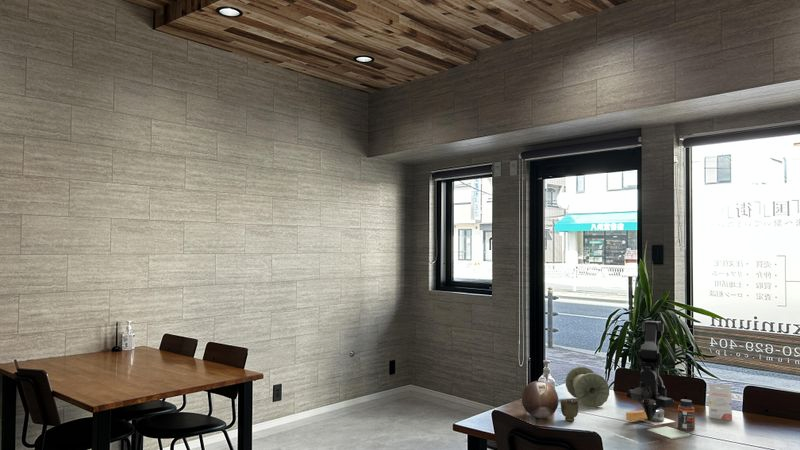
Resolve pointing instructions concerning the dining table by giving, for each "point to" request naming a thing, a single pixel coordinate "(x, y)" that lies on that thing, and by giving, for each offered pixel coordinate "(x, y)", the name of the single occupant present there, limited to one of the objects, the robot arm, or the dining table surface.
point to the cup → (569, 409)
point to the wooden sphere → (540, 399)
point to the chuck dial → (642, 415)
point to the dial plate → (659, 422)
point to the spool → (587, 387)
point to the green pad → (669, 432)
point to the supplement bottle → (686, 415)
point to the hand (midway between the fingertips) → (649, 420)
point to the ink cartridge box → (720, 401)
